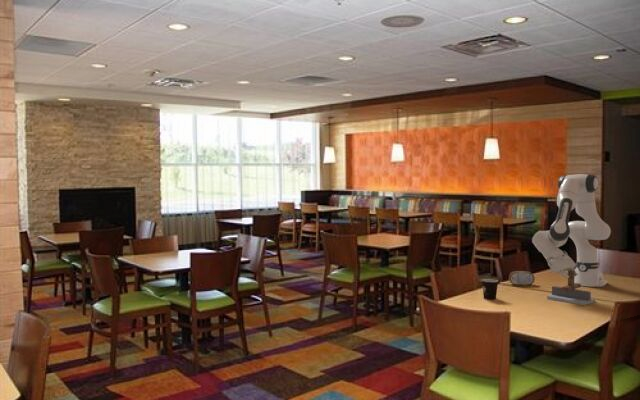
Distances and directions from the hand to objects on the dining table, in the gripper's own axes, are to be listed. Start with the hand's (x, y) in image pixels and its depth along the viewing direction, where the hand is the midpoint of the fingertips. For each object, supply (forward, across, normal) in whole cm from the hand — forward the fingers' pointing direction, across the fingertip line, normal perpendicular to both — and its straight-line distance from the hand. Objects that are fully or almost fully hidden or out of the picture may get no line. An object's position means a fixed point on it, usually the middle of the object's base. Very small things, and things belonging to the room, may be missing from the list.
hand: (572, 276), depth 287 cm
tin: (-18, +17, +37) cm, 44 cm away
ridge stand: (+9, 0, +10) cm, 13 cm away
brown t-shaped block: (+4, 0, +5) cm, 7 cm away
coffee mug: (-14, -28, +32) cm, 45 cm away
